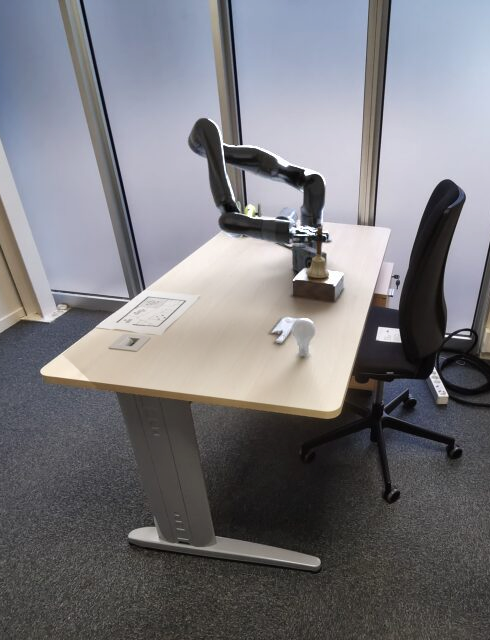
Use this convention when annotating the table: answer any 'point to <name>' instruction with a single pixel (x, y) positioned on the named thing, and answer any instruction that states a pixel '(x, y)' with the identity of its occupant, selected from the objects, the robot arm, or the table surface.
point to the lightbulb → (303, 334)
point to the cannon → (250, 210)
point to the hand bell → (318, 262)
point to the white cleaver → (284, 328)
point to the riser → (318, 286)
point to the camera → (303, 256)
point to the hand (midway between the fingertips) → (327, 237)
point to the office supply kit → (290, 216)
